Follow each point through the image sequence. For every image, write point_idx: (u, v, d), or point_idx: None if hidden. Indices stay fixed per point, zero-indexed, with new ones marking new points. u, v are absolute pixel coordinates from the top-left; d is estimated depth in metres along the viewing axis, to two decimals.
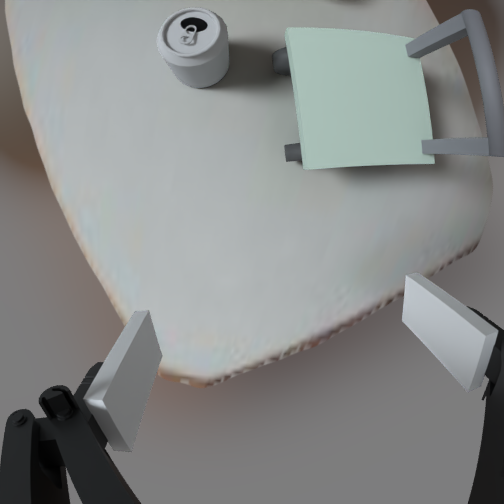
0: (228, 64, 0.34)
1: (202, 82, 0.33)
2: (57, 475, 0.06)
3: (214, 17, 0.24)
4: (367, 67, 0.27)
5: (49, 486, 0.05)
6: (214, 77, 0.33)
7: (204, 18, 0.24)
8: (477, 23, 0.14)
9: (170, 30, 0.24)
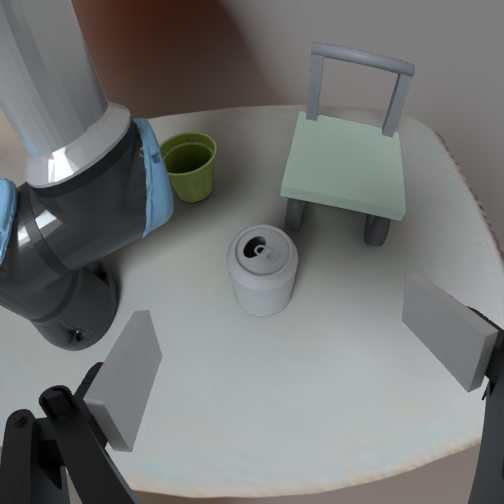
0: None
1: None
2: (57, 475, 0.06)
3: (256, 226, 0.32)
4: (326, 148, 0.40)
5: (49, 486, 0.05)
6: None
7: (251, 236, 0.32)
8: (323, 45, 0.32)
9: (250, 268, 0.31)
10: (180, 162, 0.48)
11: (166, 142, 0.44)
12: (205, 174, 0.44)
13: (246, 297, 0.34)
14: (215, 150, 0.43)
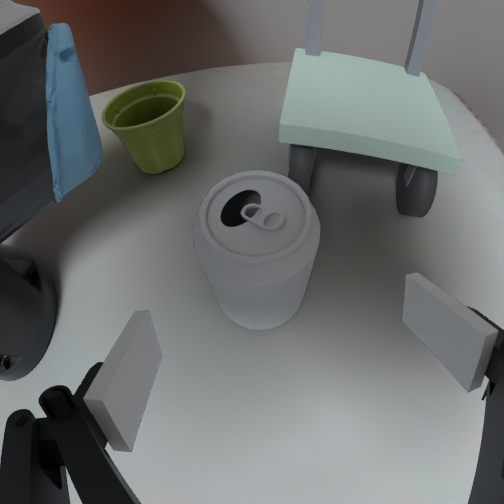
0: None
1: None
2: (57, 475, 0.06)
3: (243, 174, 0.18)
4: (337, 82, 0.26)
5: (49, 486, 0.05)
6: None
7: (235, 191, 0.18)
8: None
9: (235, 245, 0.16)
10: (141, 123, 0.34)
11: (120, 95, 0.30)
12: (170, 129, 0.29)
13: (231, 300, 0.19)
14: (183, 95, 0.28)
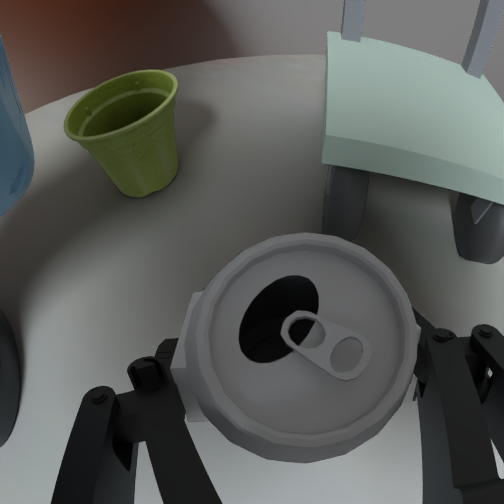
0: None
1: None
2: (127, 456, 0.08)
3: (282, 242, 0.09)
4: (393, 76, 0.17)
5: (118, 468, 0.07)
6: None
7: (266, 278, 0.09)
8: None
9: (271, 404, 0.07)
10: (121, 129, 0.25)
11: (92, 92, 0.21)
12: (156, 137, 0.21)
13: None
14: (174, 89, 0.19)
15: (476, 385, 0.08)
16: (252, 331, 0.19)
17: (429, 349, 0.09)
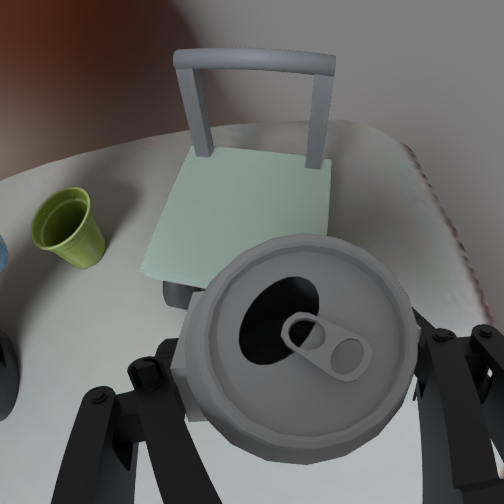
0: None
1: None
2: (128, 456, 0.08)
3: (282, 243, 0.09)
4: (212, 200, 0.30)
5: (118, 468, 0.07)
6: None
7: (266, 279, 0.09)
8: (189, 53, 0.22)
9: (271, 406, 0.07)
10: (69, 221, 0.38)
11: (46, 202, 0.34)
12: (81, 242, 0.33)
13: None
14: (87, 212, 0.32)
15: (476, 385, 0.08)
16: (252, 332, 0.19)
17: (429, 349, 0.09)
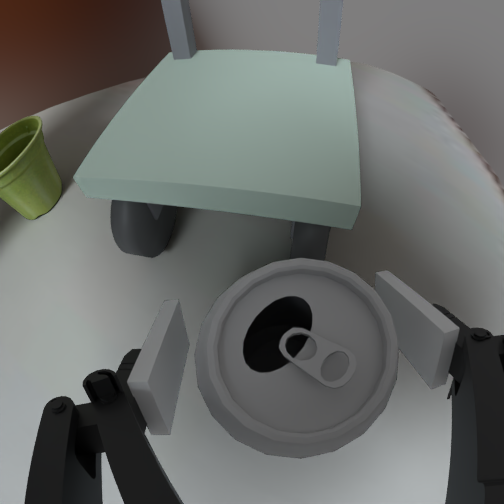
0: None
1: None
2: (92, 464, 0.07)
3: (281, 267, 0.10)
4: (188, 93, 0.19)
5: (83, 476, 0.06)
6: None
7: (267, 298, 0.10)
8: None
9: (270, 407, 0.09)
10: None
11: None
12: (26, 176, 0.22)
13: None
14: (34, 136, 0.21)
15: None
16: (253, 338, 0.20)
17: (467, 347, 0.08)
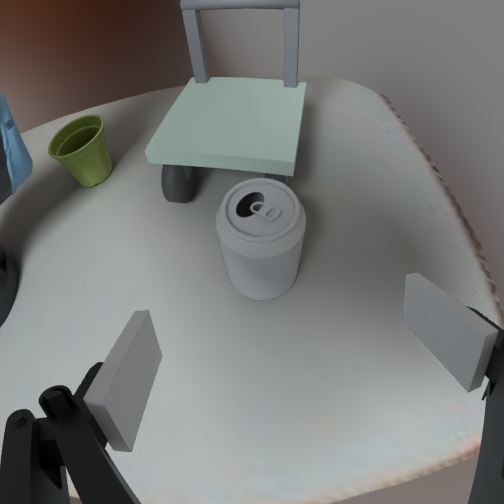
0: None
1: None
2: (57, 475, 0.06)
3: (251, 180, 0.25)
4: (207, 106, 0.34)
5: (49, 486, 0.05)
6: None
7: (246, 192, 0.25)
8: None
9: (246, 229, 0.24)
10: (81, 148, 0.42)
11: (64, 128, 0.38)
12: (93, 154, 0.37)
13: (242, 271, 0.27)
14: (100, 128, 0.36)
15: None
16: None
17: None
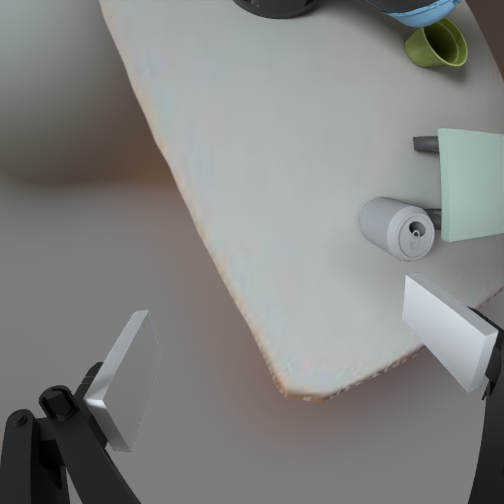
0: None
1: None
2: (57, 475, 0.06)
3: (432, 226, 0.35)
4: (486, 163, 0.34)
5: (49, 486, 0.05)
6: None
7: (424, 223, 0.35)
8: None
9: (402, 232, 0.35)
10: (435, 35, 0.34)
11: (448, 20, 0.29)
12: (434, 60, 0.34)
13: (377, 224, 0.39)
14: (456, 65, 0.31)
15: None
16: None
17: None
